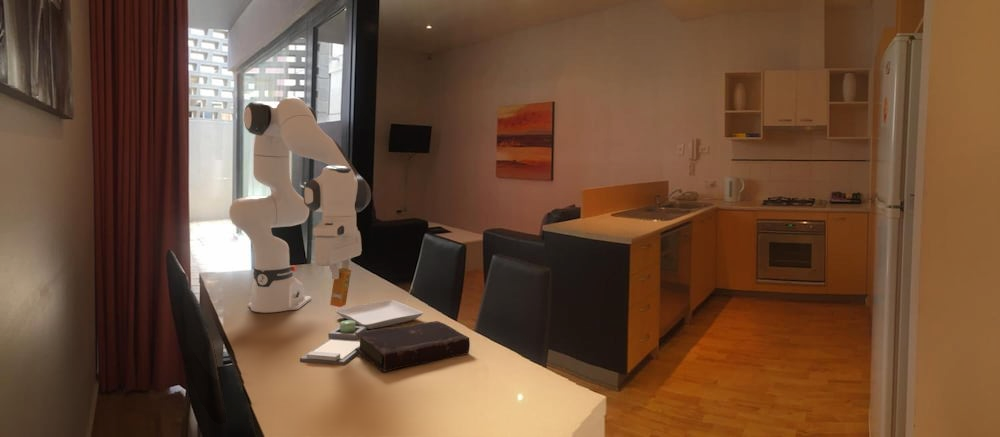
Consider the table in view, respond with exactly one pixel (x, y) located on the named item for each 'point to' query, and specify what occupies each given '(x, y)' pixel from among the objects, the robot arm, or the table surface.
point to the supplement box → (340, 288)
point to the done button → (347, 326)
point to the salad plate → (379, 314)
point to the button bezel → (345, 334)
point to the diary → (411, 344)
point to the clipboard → (333, 352)
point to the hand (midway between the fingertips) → (340, 277)
